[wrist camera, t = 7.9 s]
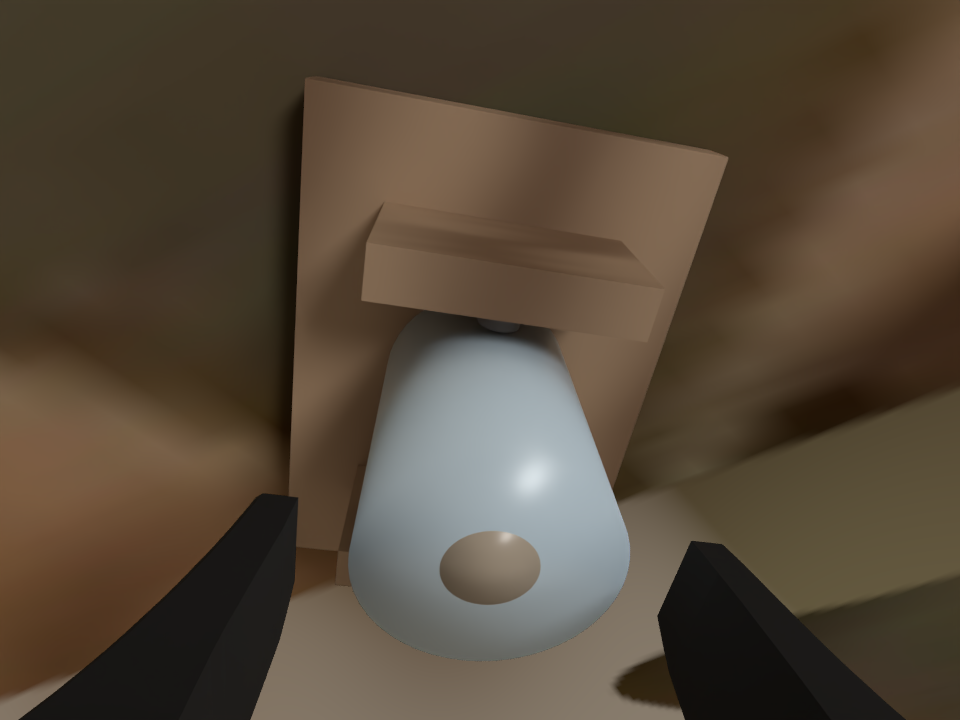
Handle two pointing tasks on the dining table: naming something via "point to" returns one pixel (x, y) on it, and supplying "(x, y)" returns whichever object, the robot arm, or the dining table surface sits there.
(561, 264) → the holder
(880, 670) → the dining table surface
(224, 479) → the dining table surface
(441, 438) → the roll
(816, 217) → the dining table surface
